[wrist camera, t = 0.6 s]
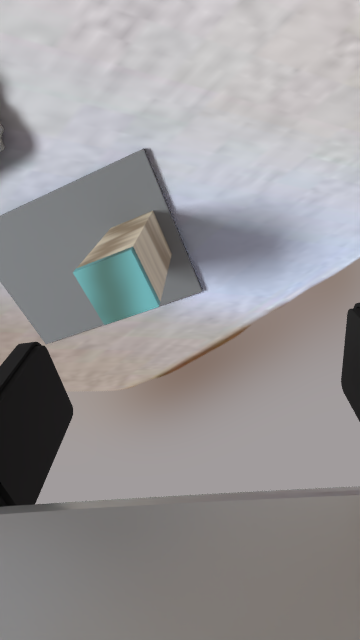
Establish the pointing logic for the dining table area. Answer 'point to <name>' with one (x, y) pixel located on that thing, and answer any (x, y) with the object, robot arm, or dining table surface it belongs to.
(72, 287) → the rubber mat
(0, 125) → the grey jagged stone ring
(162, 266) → the birch block
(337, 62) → the dining table surface
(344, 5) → the dining table surface
